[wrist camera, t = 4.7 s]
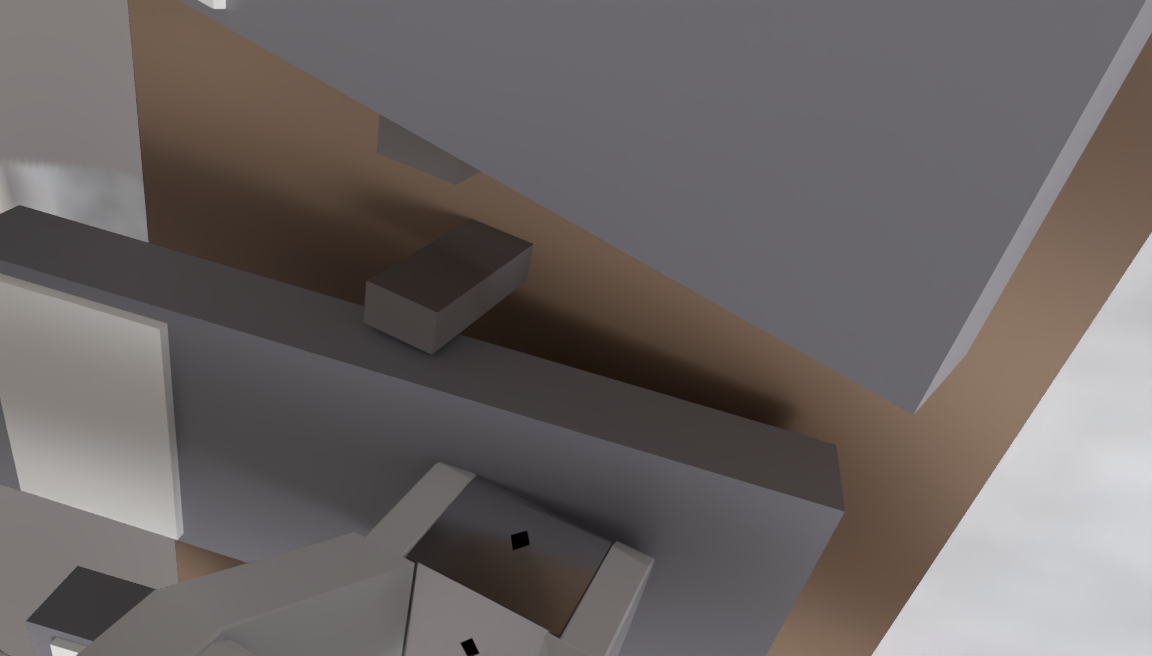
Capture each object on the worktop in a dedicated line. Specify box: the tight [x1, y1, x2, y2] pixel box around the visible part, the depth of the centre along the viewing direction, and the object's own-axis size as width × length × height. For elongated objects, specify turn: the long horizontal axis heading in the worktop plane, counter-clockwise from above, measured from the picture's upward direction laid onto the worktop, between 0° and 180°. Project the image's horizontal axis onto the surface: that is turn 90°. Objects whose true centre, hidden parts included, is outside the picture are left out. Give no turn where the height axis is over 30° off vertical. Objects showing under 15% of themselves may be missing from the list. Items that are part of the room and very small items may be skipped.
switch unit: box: [128, 0, 1152, 656], centre depth 13 cm, size 21×14×5 cm
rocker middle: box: [0, 205, 845, 656], centre depth 11 cm, size 4×11×1 cm, turn 77°
